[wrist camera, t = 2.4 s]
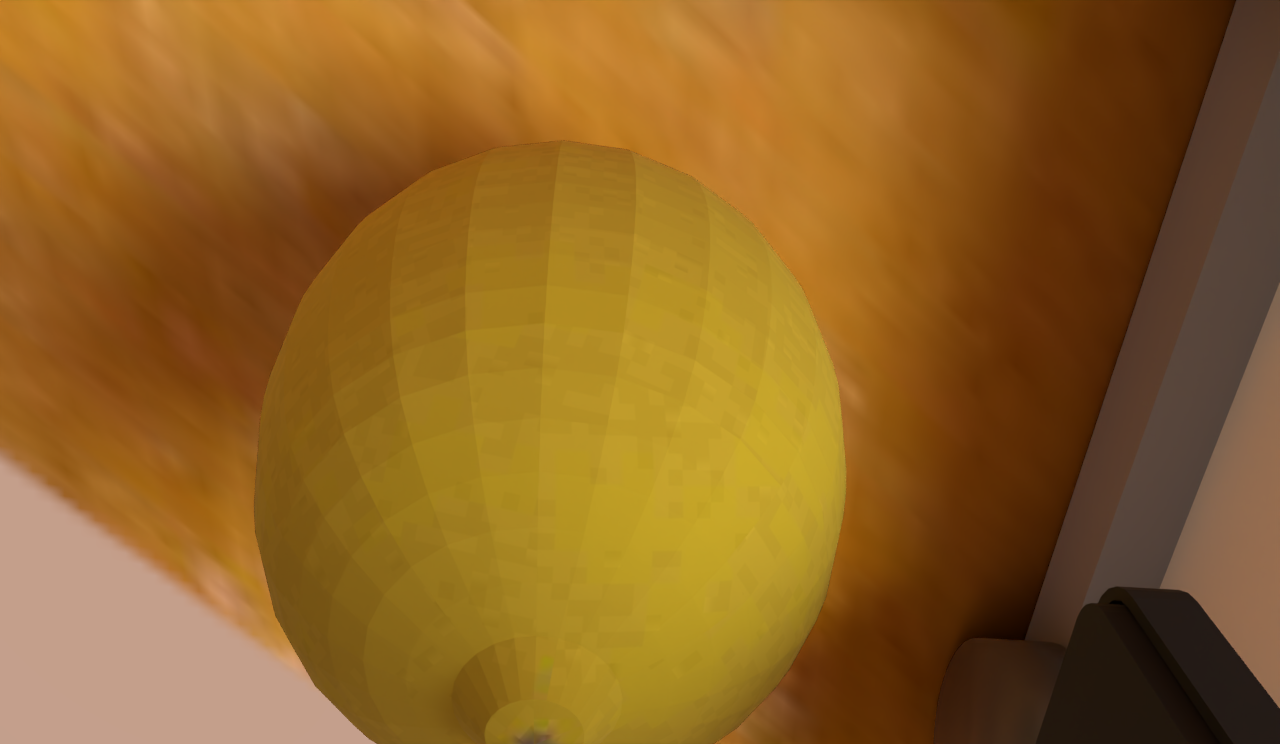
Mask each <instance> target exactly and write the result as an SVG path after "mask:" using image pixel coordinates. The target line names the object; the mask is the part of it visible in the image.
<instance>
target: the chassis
mask: <svg viewBox="0 0 1280 744" xmlns="http://www.w3.org/2000/svg"><path fill="white" fill-rule="evenodd" d="M1116 586H1119V587H1137V588H1155V589H1173V590H1181V591H1184V592H1187V593H1189V594H1190V595H1191V596H1192V597H1193V598H1194V599H1195V600H1196V601H1197V602H1198V603H1199V604H1200V606H1201V607H1202V608H1203V609H1204V611H1205V612H1206V613H1207V615H1208V616H1209V617H1210V619H1211V620H1212V621H1213V622H1214V624H1215V625H1216V626H1217V628H1218V629H1219V630H1220V632H1221V633H1222V634H1223V635H1224V637H1225V638H1226V639H1227V641H1228V642H1229V643H1230V645H1231V646H1232V647H1233V648H1234V650H1235V651H1236V652H1237V654H1238V655H1239V656H1240V657H1241V659H1242V660H1243V661H1244V663H1245V664H1246V665H1247V667H1248V668H1249V669H1250V670H1251V672H1252V673H1253V674H1254V676H1255V677H1256V678H1257V680H1258V681H1259V682H1260V683H1261V685H1262V686H1263V687H1264V689H1265V690H1266V691H1267V693H1268V694H1269V695H1270V696H1271V698H1272V699H1273V700H1274V702H1275V703H1276V704H1277V706H1278V707H1279V708H1280V0H1236V3H1235V6H1234V9H1233V12H1232V15H1231V18H1230V21H1229V24H1228V27H1227V30H1226V33H1225V36H1224V39H1223V42H1222V45H1221V48H1220V51H1219V54H1218V57H1217V60H1216V63H1215V66H1214V69H1213V72H1212V75H1211V78H1210V81H1209V84H1208V87H1207V90H1206V93H1205V96H1204V99H1203V102H1202V106H1201V109H1200V112H1199V115H1198V118H1197V121H1196V124H1195V127H1194V130H1193V133H1192V136H1191V139H1190V142H1189V145H1188V148H1187V151H1186V154H1185V157H1184V160H1183V163H1182V166H1181V169H1180V172H1179V175H1178V178H1177V181H1176V184H1175V187H1174V190H1173V193H1172V196H1171V199H1170V202H1169V205H1168V208H1167V211H1166V214H1165V217H1164V220H1163V223H1162V226H1161V229H1160V232H1159V235H1158V238H1157V241H1156V244H1155V247H1154V250H1153V253H1152V257H1151V260H1150V263H1149V266H1148V269H1147V272H1146V275H1145V278H1144V281H1143V284H1142V287H1141V290H1140V293H1139V296H1138V299H1137V302H1136V305H1135V308H1134V311H1133V314H1132V317H1131V320H1130V323H1129V326H1128V329H1127V332H1126V335H1125V338H1124V341H1123V344H1122V347H1121V350H1120V353H1119V356H1118V359H1117V362H1116V365H1115V368H1114V371H1113V374H1112V377H1111V380H1110V383H1109V386H1108V389H1107V392H1106V395H1105V398H1104V401H1103V404H1102V407H1101V411H1100V414H1099V417H1098V420H1097V423H1096V426H1095V429H1094V432H1093V435H1092V438H1091V441H1090V444H1089V447H1088V450H1087V453H1086V456H1085V459H1084V462H1083V465H1082V468H1081V471H1080V474H1079V477H1078V480H1077V483H1076V486H1075V489H1074V492H1073V495H1072V498H1071V501H1070V504H1069V507H1068V510H1067V513H1066V516H1065V519H1064V522H1063V525H1062V528H1061V531H1060V534H1059V537H1058V540H1057V543H1056V546H1055V549H1054V552H1053V555H1052V558H1051V562H1050V565H1049V568H1048V571H1047V574H1046V577H1045V580H1044V583H1043V586H1042V589H1041V592H1040V595H1039V598H1038V601H1037V604H1036V607H1035V610H1034V613H1033V616H1032V619H1031V622H1030V625H1029V628H1028V631H1027V634H1026V637H1025V640H1008V639H991V638H972V639H969V640H967V641H966V642H964V643H963V644H962V645H961V646H960V647H959V648H958V650H957V651H956V652H955V654H954V656H953V657H952V659H951V661H950V663H949V666H948V668H947V671H946V674H945V676H944V679H943V683H942V687H941V691H940V695H939V700H938V706H937V712H936V720H935V730H934V744H1035V743H1036V740H1037V737H1038V734H1039V731H1040V728H1041V725H1042V722H1043V719H1044V716H1045V713H1046V710H1047V707H1048V704H1049V701H1050V698H1051V695H1052V692H1053V689H1054V686H1055V683H1056V680H1057V677H1058V674H1059V671H1060V668H1061V665H1062V662H1063V659H1064V656H1065V653H1066V650H1067V647H1068V644H1069V641H1070V638H1071V635H1072V632H1073V629H1074V626H1075V623H1076V620H1077V617H1078V615H1079V613H1080V611H1081V609H1082V608H1083V607H1084V606H1085V605H1086V604H1090V603H1098V602H1099V600H1100V598H1101V596H1102V595H1103V594H1104V593H1105V592H1106V591H1107V589H1109V588H1112V587H1116Z"/></svg>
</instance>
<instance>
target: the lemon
mask: <svg viewBox="0 0 1280 744" xmlns="http://www.w3.org/2000/svg"><path fill="white" fill-rule="evenodd" d="M845 497H846V459H845V448H844V437H843V425H842V414H841V403H840V395H839V386H838V381H837V377H836V373H835V369H834V365H833V363H832V360H831V358H830V355H829V353H828V350H827V347H826V345H825V342H824V340H823V337H822V335H821V332H820V330H819V327H818V325H817V322H816V320H815V317H814V315H813V312H812V310H811V307H810V304H809V302H808V300H807V298H806V295H805V293H804V291H803V289H802V287H801V286H800V284H799V283H798V281H797V280H796V278H795V277H794V275H793V274H792V273H791V271H790V270H789V269H788V268H787V266H786V265H785V264H784V262H783V261H782V260H781V259H780V257H779V256H778V255H777V254H776V252H775V251H774V250H773V248H772V247H771V246H770V245H769V243H768V242H767V241H766V239H765V238H764V237H763V236H762V234H761V233H760V232H759V231H758V229H757V228H756V227H755V225H754V224H753V223H752V222H751V221H750V220H749V219H748V218H746V217H745V216H744V215H743V214H742V213H740V212H739V211H738V210H736V209H735V208H734V207H732V206H731V205H730V204H728V203H727V202H726V201H724V200H723V199H722V198H720V197H719V196H718V195H716V194H715V193H714V192H712V191H711V190H710V189H708V188H707V187H706V186H704V185H703V184H702V183H700V182H699V181H698V180H696V179H695V178H694V177H692V176H690V175H687V174H685V173H683V172H680V171H678V170H675V169H673V168H671V167H668V166H666V165H663V164H661V163H659V162H656V161H654V160H651V159H649V158H647V157H644V156H642V155H639V154H637V153H635V152H632V151H630V150H627V149H620V148H613V147H606V146H600V145H593V144H586V143H579V142H572V141H565V140H563V141H553V142H543V143H533V144H524V145H514V146H504V147H497V148H493V149H491V150H488V151H485V152H482V153H480V154H477V155H474V156H471V157H469V158H466V159H463V160H460V161H458V162H455V163H452V164H449V165H447V166H444V167H441V168H438V169H436V170H433V171H430V172H429V173H427V174H426V175H424V176H423V177H421V178H420V179H419V180H417V181H416V182H414V183H413V184H411V185H410V186H409V187H407V188H406V189H404V190H403V191H402V192H400V193H399V194H397V195H396V196H395V197H393V198H392V199H390V200H389V201H387V202H386V203H385V204H383V205H382V206H380V207H379V208H378V209H376V210H375V211H373V212H372V213H371V214H369V215H368V216H366V217H365V218H364V219H363V220H362V221H361V222H360V223H359V224H358V225H357V226H356V227H355V229H354V230H353V231H352V232H351V234H350V235H349V236H348V237H347V239H346V240H345V241H344V242H343V244H342V245H341V246H340V247H339V249H338V250H337V251H336V252H335V254H334V255H333V256H332V258H331V259H330V260H329V261H328V263H327V264H326V265H325V266H324V268H323V269H322V270H321V271H320V273H319V274H318V275H317V276H316V278H315V279H314V280H313V282H312V283H311V285H310V286H309V288H308V289H307V291H306V292H305V294H304V295H303V297H302V299H301V301H300V304H299V306H298V308H297V310H296V312H295V315H294V317H293V320H292V322H291V325H290V327H289V330H288V332H287V335H286V337H285V339H284V342H283V344H282V347H281V349H280V352H279V354H278V357H277V359H276V362H275V364H274V367H273V369H272V372H271V374H270V377H269V380H268V384H267V387H266V391H265V394H264V398H263V405H262V411H261V417H260V426H259V440H258V454H257V467H256V481H255V497H254V518H255V533H256V538H257V542H258V546H259V550H260V554H261V558H262V563H263V567H264V571H265V575H266V579H267V583H268V587H269V591H270V596H271V600H272V604H273V608H274V612H275V616H276V618H277V619H278V621H279V623H280V625H281V627H282V628H283V630H284V632H285V634H286V636H287V638H288V639H289V641H290V643H291V645H292V646H293V648H294V650H295V652H296V653H297V655H298V657H299V659H300V660H301V662H302V664H303V666H304V667H305V669H306V671H307V673H308V674H309V676H310V678H311V680H312V681H313V683H314V685H315V686H316V687H317V688H318V689H319V690H320V691H321V692H322V693H323V694H324V695H325V696H326V697H327V698H328V699H329V700H330V701H331V702H332V704H333V705H334V706H335V707H336V708H337V709H338V710H339V711H340V712H341V713H342V714H343V715H344V716H345V717H346V718H347V719H348V720H349V721H350V722H351V723H352V724H353V725H354V726H355V727H356V728H357V729H359V730H360V731H361V732H362V733H363V734H364V735H365V736H366V737H367V738H369V739H370V740H372V741H374V742H375V743H377V744H714V743H716V742H717V741H719V740H720V739H722V738H723V737H725V736H726V735H728V734H729V733H730V732H732V731H733V730H735V729H736V728H737V727H738V726H739V725H740V724H741V723H742V722H743V721H744V720H745V719H746V718H747V717H748V716H749V715H750V714H751V713H752V712H753V711H754V710H755V709H756V708H757V707H758V706H759V705H760V704H761V703H762V701H763V700H764V699H765V698H766V697H767V696H768V695H769V694H770V693H771V692H772V691H773V690H774V689H775V688H776V686H777V685H778V684H779V682H780V681H781V680H782V678H783V677H784V676H785V674H786V673H787V672H788V670H789V669H790V667H791V665H792V664H793V662H794V660H795V658H796V656H797V655H798V653H799V651H800V649H801V647H802V646H803V644H804V642H805V640H806V638H807V637H808V635H809V633H810V631H811V629H812V627H813V626H814V624H815V622H816V620H817V618H818V615H819V613H820V611H821V608H822V606H823V603H824V601H825V598H826V595H827V591H828V586H829V581H830V577H831V572H832V567H833V563H834V558H835V553H836V548H837V544H838V539H839V534H840V529H841V525H842V520H843V515H844V507H845Z"/></svg>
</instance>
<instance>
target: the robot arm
mask: <svg viewBox="0 0 1280 744" xmlns="http://www.w3.org/2000/svg"><path fill="white" fill-rule="evenodd" d="M1035 744H1280V708H1279V707H1278V706H1277V704H1276V703H1275V702H1274V700H1273V699H1272V698H1271V696H1270V695H1269V694H1268V693H1267V691H1266V690H1265V689H1264V687H1263V686H1262V685H1261V683H1260V682H1259V681H1258V680H1257V678H1256V677H1255V676H1254V674H1253V673H1252V672H1251V670H1250V669H1249V668H1248V667H1247V665H1246V664H1245V663H1244V661H1243V660H1242V659H1241V657H1240V656H1239V655H1238V654H1237V652H1236V651H1235V650H1234V648H1233V647H1232V646H1231V645H1230V643H1229V642H1228V641H1227V639H1226V638H1225V637H1224V635H1223V634H1222V633H1221V632H1220V630H1219V629H1218V628H1217V626H1216V625H1215V624H1214V622H1213V621H1212V620H1211V619H1210V617H1209V616H1208V615H1207V613H1206V612H1205V611H1204V609H1203V608H1202V607H1201V606H1200V604H1199V603H1198V602H1197V601H1196V600H1195V599H1194V598H1193V597H1192V596H1191V595H1190V594H1189V593H1187V592H1184V591H1181V590H1173V589H1155V588H1137V587H1119V586H1116V587H1112V588H1109V589H1107V591H1106V592H1105V593H1104V594H1103V595H1102V596H1101V598H1100V600H1099V602H1098V603H1090V604H1086V605H1085V606H1084V607H1083V608H1082V609H1081V611H1080V613H1079V615H1078V617H1077V620H1076V623H1075V626H1074V629H1073V632H1072V635H1071V638H1070V641H1069V644H1068V647H1067V650H1066V653H1065V656H1064V659H1063V662H1062V665H1061V668H1060V671H1059V674H1058V677H1057V680H1056V683H1055V686H1054V689H1053V692H1052V695H1051V698H1050V701H1049V704H1048V707H1047V710H1046V713H1045V716H1044V719H1043V722H1042V725H1041V728H1040V731H1039V734H1038V737H1037V740H1036V743H1035Z"/></svg>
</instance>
